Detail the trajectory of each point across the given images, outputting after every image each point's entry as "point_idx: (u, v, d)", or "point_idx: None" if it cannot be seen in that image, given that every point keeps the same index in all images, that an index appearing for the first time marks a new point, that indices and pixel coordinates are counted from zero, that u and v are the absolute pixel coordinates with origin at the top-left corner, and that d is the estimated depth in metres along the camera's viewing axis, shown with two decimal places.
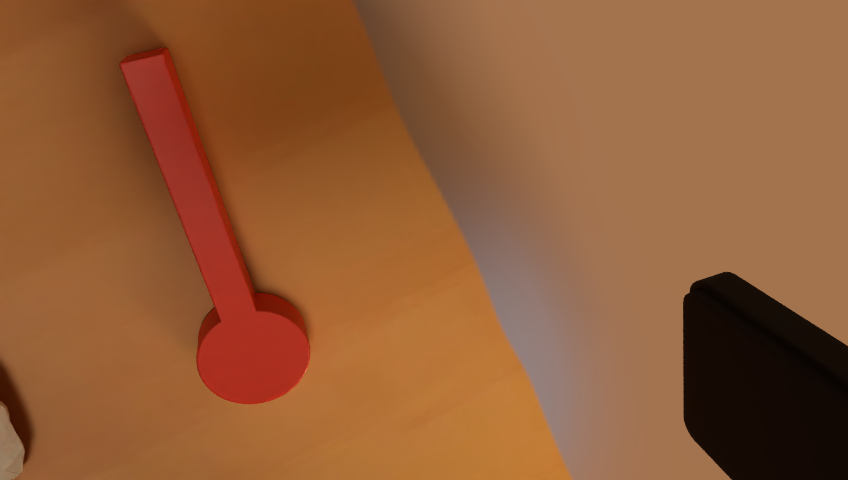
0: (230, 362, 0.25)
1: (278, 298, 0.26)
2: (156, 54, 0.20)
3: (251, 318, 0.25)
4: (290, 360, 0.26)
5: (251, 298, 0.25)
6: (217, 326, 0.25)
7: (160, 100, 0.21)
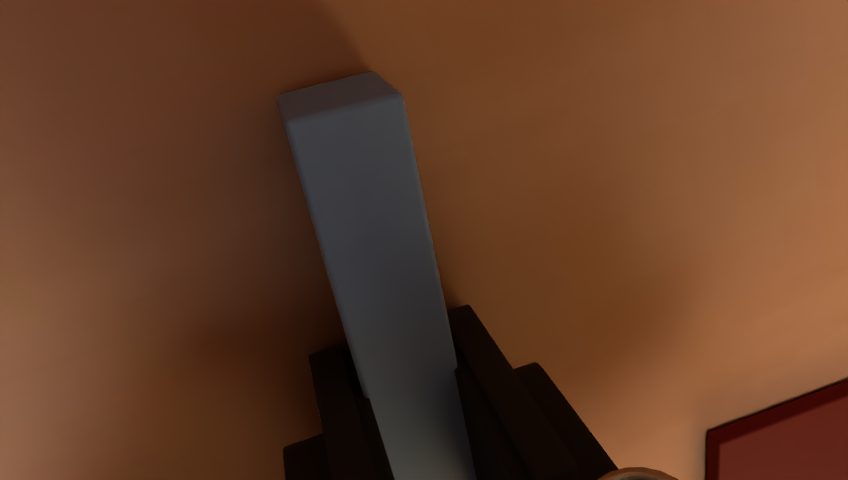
0: None
1: None
2: None
3: None
4: None
5: None
6: None
7: None
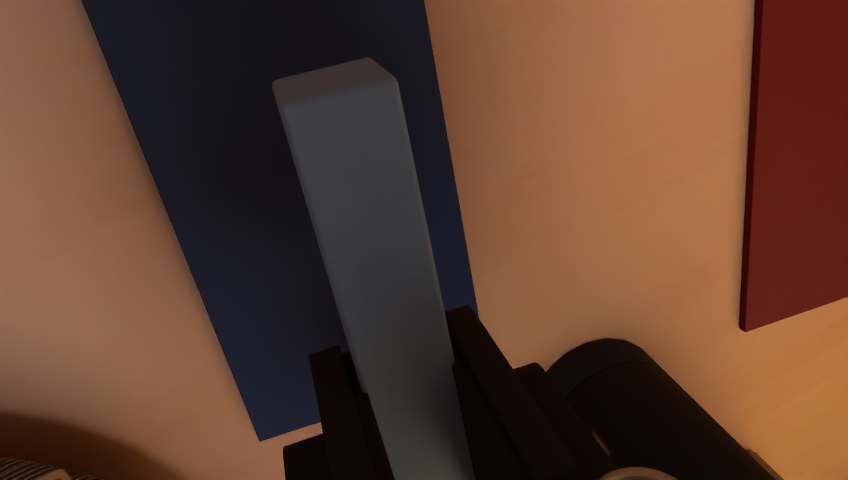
0: None
1: None
2: None
3: None
4: None
5: None
6: None
7: None
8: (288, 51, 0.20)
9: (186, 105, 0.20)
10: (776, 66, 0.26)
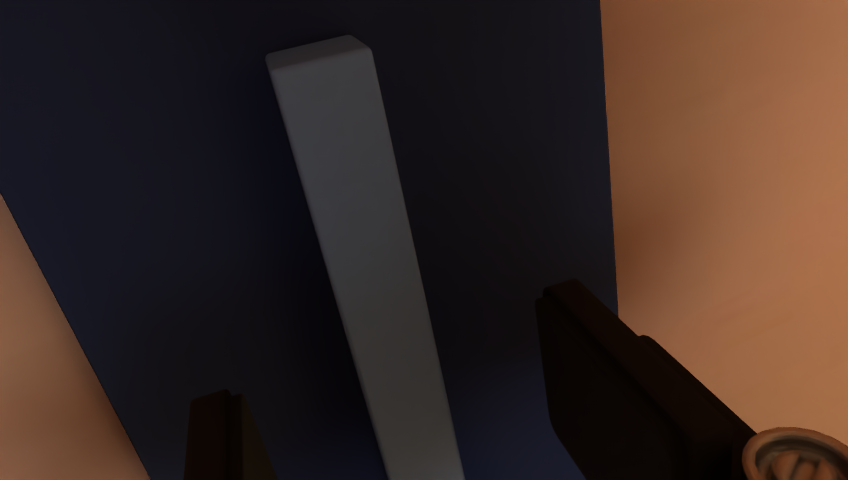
0: None
1: None
2: None
3: None
4: None
5: None
6: None
7: None
8: None
9: (156, 246, 0.11)
10: None
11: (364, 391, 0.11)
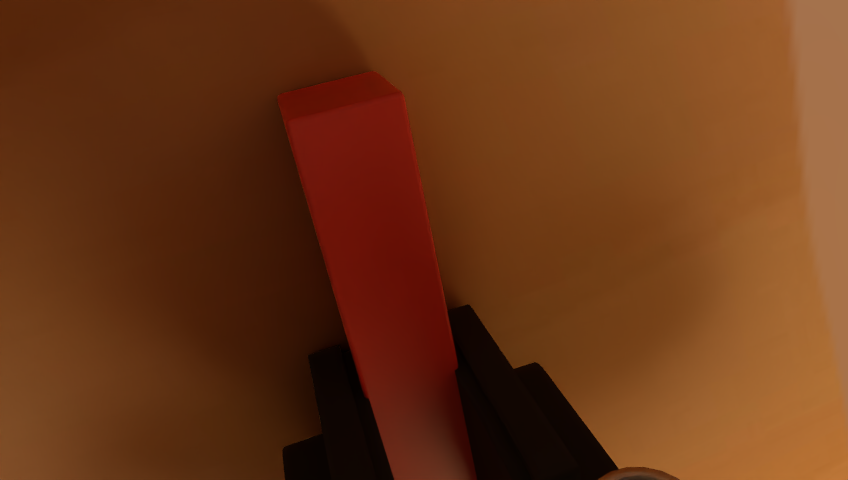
0: None
1: None
2: (384, 95, 0.07)
3: None
4: None
5: None
6: None
7: (381, 214, 0.08)
8: None
9: None
10: None
11: None
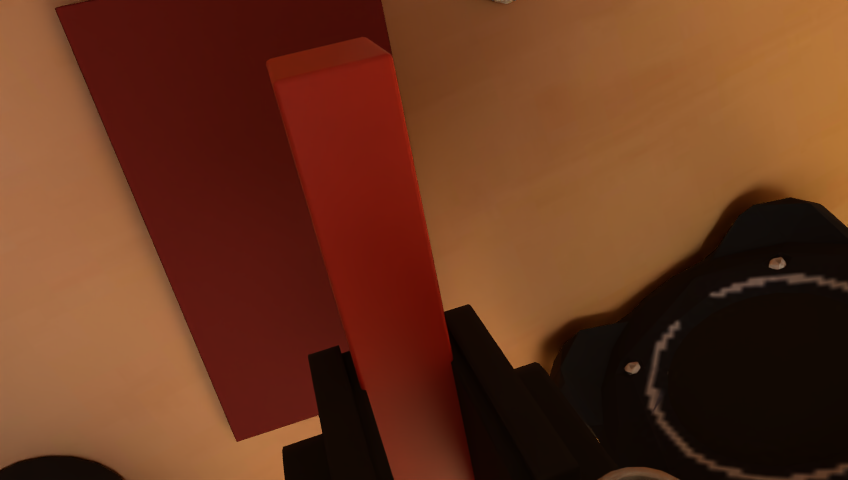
0: None
1: None
2: (372, 56, 0.07)
3: None
4: None
5: None
6: None
7: (370, 179, 0.08)
8: None
9: None
10: (143, 159, 0.22)
11: None
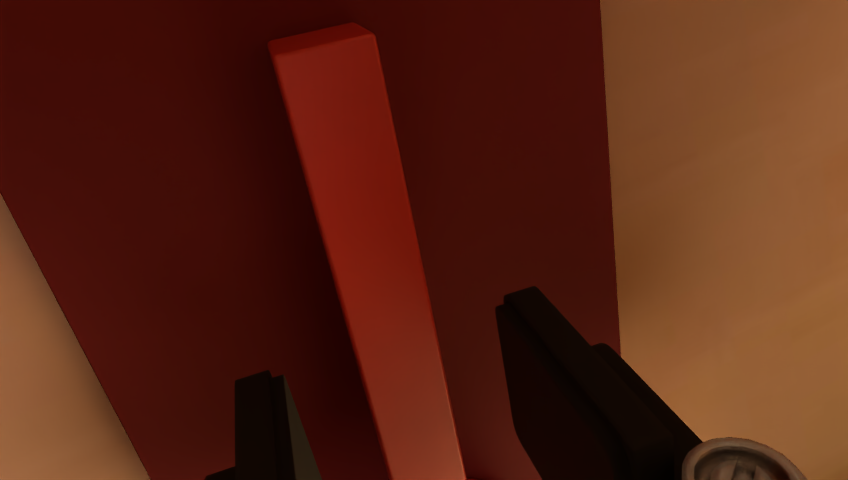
0: None
1: None
2: (358, 35, 0.09)
3: None
4: None
5: None
6: None
7: (356, 142, 0.09)
8: None
9: None
10: (116, 312, 0.11)
11: None
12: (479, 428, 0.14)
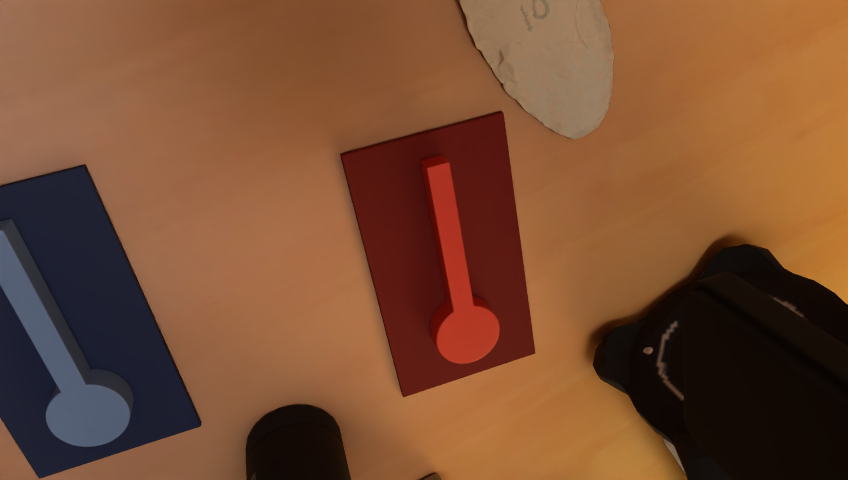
0: (455, 336, 0.42)
1: (479, 298, 0.43)
2: (445, 162, 0.37)
3: (470, 310, 0.41)
4: (488, 336, 0.42)
5: (472, 298, 0.41)
6: (451, 315, 0.41)
7: (444, 187, 0.37)
8: None
9: None
10: (373, 231, 0.39)
11: (24, 327, 0.34)
12: (474, 276, 0.42)
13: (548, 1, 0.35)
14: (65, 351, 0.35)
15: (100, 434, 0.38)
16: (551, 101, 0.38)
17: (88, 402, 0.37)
